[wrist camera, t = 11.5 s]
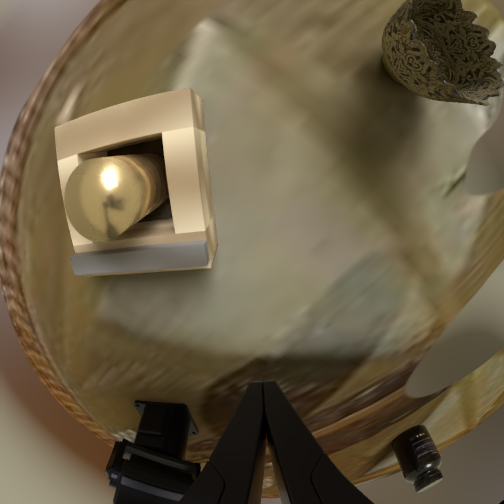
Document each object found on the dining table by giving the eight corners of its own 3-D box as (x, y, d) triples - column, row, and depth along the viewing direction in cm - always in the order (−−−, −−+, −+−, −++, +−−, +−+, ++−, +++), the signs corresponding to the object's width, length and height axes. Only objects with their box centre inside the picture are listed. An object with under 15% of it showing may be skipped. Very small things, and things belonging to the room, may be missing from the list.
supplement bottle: (416, 438, 33) (436, 485, 22) (385, 449, 33) (403, 500, 22) (431, 419, 31) (456, 469, 20) (399, 430, 31) (421, 487, 20)
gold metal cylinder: (177, 205, 18) (140, 237, 11) (126, 212, 18) (73, 246, 12) (169, 148, 17) (125, 149, 10) (118, 159, 17) (59, 168, 10)
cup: (389, 125, 16) (463, 122, 8) (335, 39, 14) (384, -11, 6) (448, 95, 15) (517, 89, 7) (403, 19, 12) (459, -15, 5)
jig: (217, 244, 19) (209, 274, 15) (107, 254, 19) (76, 282, 15) (202, 100, 15) (186, 84, 11) (86, 128, 16) (47, 127, 11)
